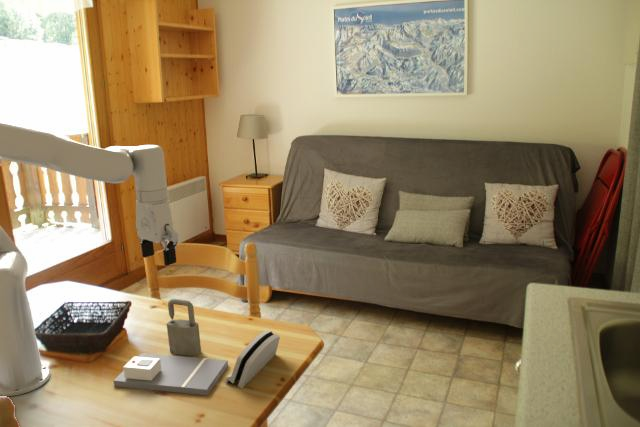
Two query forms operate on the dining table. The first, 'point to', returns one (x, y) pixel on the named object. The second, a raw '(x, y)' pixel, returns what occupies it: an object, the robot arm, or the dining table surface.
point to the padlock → (183, 331)
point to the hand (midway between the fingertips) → (159, 259)
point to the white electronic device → (142, 368)
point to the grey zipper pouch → (254, 358)
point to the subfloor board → (179, 375)
